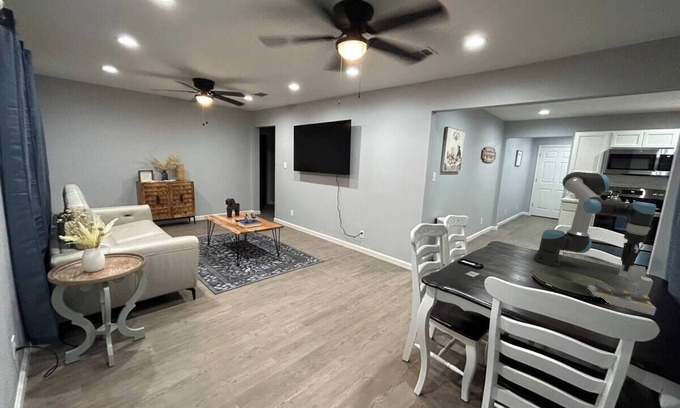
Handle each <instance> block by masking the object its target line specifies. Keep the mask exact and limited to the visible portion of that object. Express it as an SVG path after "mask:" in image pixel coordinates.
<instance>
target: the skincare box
mask: <svg viewBox="0 0 680 408" xmlns="http://www.w3.org/2000/svg"><path fill="white" fill-rule="evenodd" d="M653 284H654V280H652V279H651V278H650V277H646V276H644V277H643V276H640V279H639V281H638V282H637V284H636V287H635V289H634V292H633V294H637V295H646V296H648V297H649V294H650V291H651V290H652V286H653Z"/></svg>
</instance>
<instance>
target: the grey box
mask: <svg viewBox="0 0 680 408" xmlns="http://www.w3.org/2000/svg"><path fill="white" fill-rule="evenodd" d="M640 276H643V277H646V266H641V265H636V264H634V265H633V266H630V269H629V272H628V275H627V278H626V277H624V279H626V280H627V281H631V282H635V283H638V281H639V279H640Z"/></svg>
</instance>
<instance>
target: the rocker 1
mask: <svg viewBox="0 0 680 408" xmlns="http://www.w3.org/2000/svg"><path fill="white" fill-rule="evenodd" d="M594 286H595V287H596V288H597V289H599V290H601V291H604V292H606V293H608V294H610V295H611V293H612V292H611V289H610V288H608V287H605V286H602V285H601V284H598V283H595V284H594Z"/></svg>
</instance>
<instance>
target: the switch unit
mask: <svg viewBox="0 0 680 408" xmlns="http://www.w3.org/2000/svg"><path fill="white" fill-rule="evenodd" d="M587 289H589V290H590V291H591V292H592V294H593V295H594V296H597V297H601V298H603V299H604V300H605V301H606V302H607V303H609V304H608V305H612V306H616V307H619V308H623V309H626V308H627V310H630V309H631V311H635V312H637V313H638V312H639V313H643V314H646V315H651V316H655V313H656V310H657V307H655V305H654V304H653V303H651V301H650V302H648V301H640V300H633V299H632V298H631V297H627V296H618V295H614V294H613V293H611V295H610V294H608V293H606V292H604V291H601V290H599V289H597V288H596V287H595V285H591V284H588V286H587ZM607 303H606V304H607Z"/></svg>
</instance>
